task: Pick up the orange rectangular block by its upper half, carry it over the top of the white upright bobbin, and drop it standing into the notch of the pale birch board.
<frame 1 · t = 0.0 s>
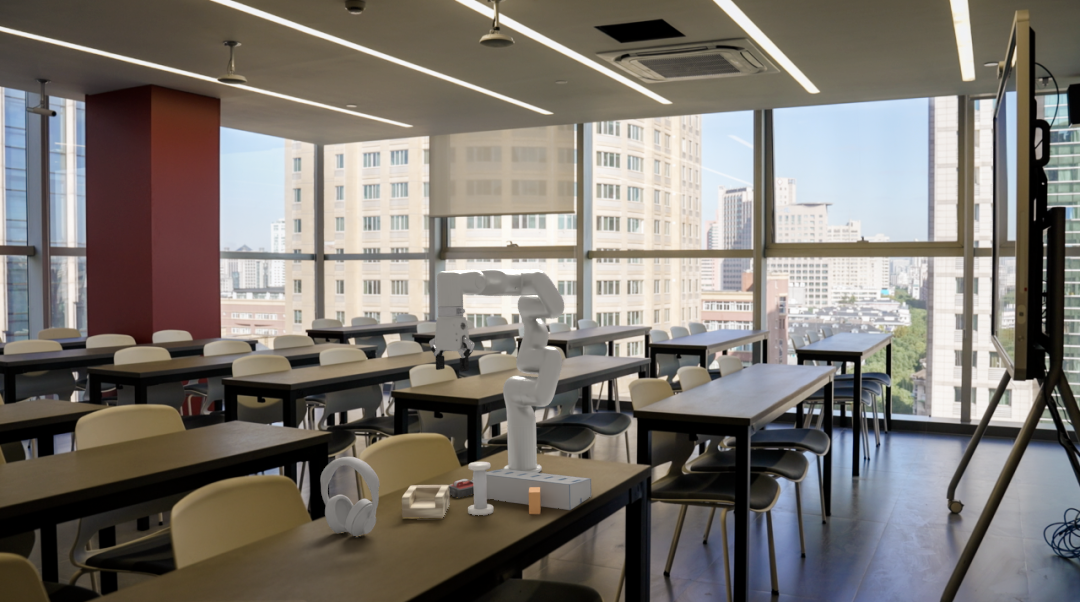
hand: (452, 370, 230), 37 cm above the table, tool pointing down, fingers open, 9 cm apart
board: (426, 512, 215), on the table
warehouse: (534, 499, 227), on the table
headphones: (351, 535, 197), on the table
orange rectangular block: (535, 511, 214), on the table
toolbox: (457, 495, 233), on the table
bobbin: (480, 511, 214), on the table
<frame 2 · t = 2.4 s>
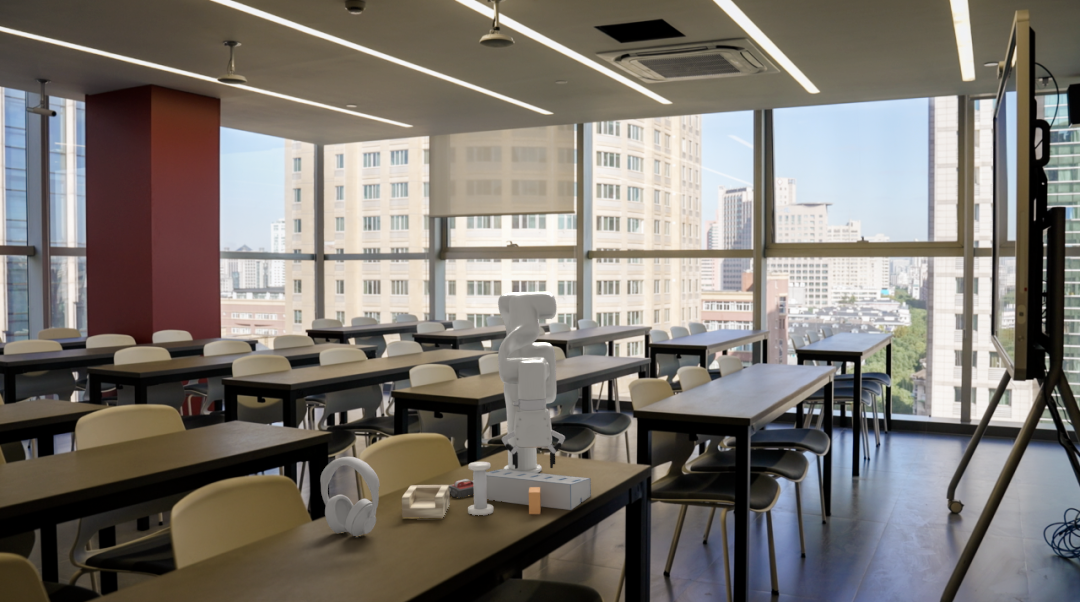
hand: (534, 467, 213), 12 cm above the table, tool pointing down, fingers open, 9 cm apart
nothing on the table moved.
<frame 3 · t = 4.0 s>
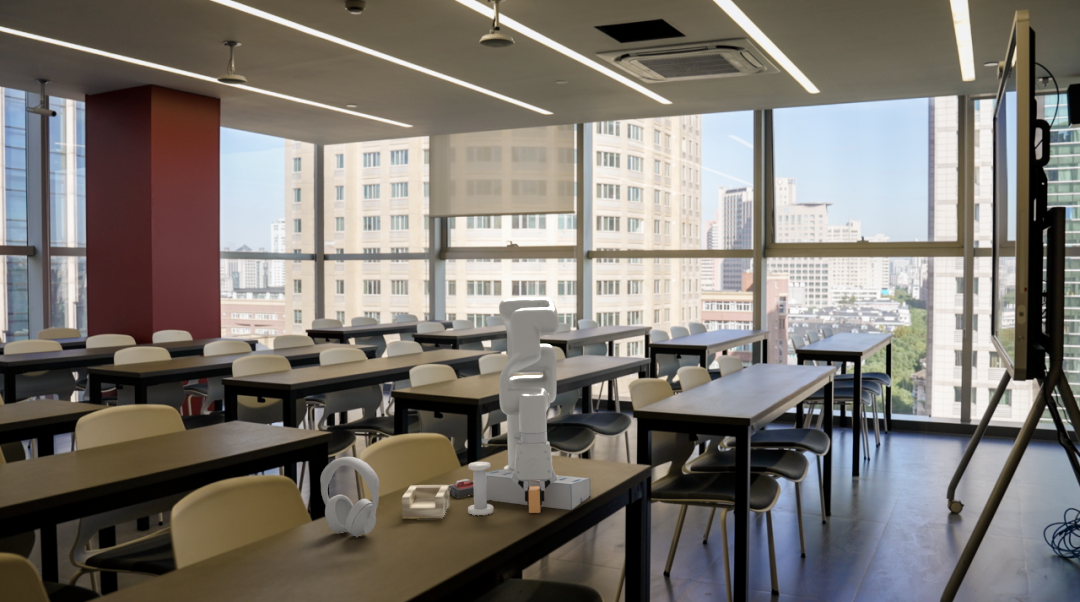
hand: (534, 503, 214), 2 cm above the table, tool pointing down, fingers closed on orange rectangular block, 2 cm apart
orange rectangular block: (534, 510, 214), on the table, touching gripper
everything else where it was.
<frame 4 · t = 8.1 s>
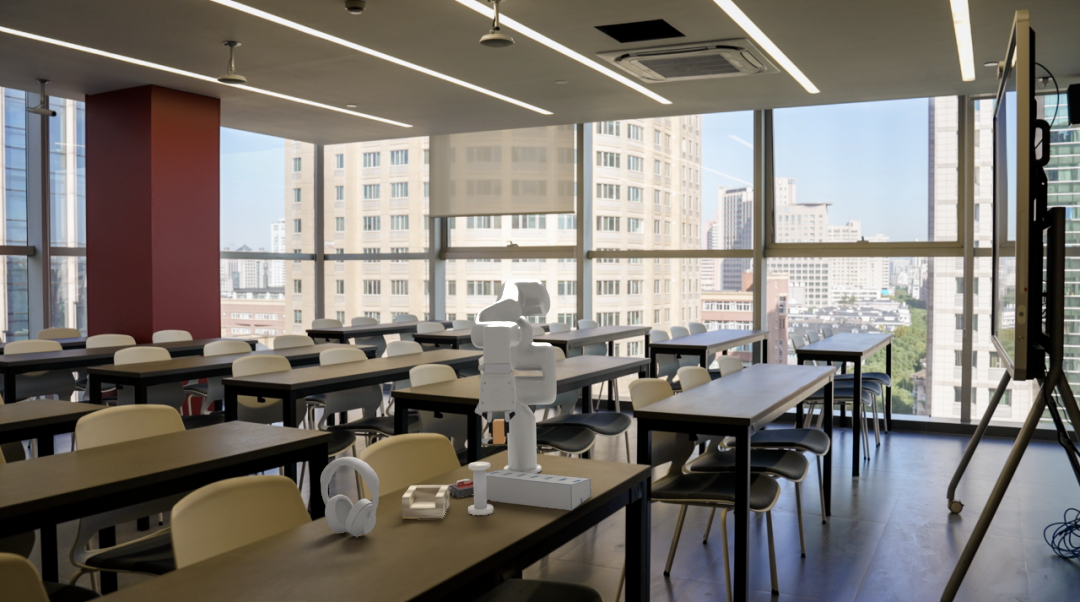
hand: (499, 435, 213), 21 cm above the table, tool pointing down, fingers closed on orange rectangular block, 2 cm apart
orange rectangular block: (499, 442, 213), point 19 cm above the table, touching gripper
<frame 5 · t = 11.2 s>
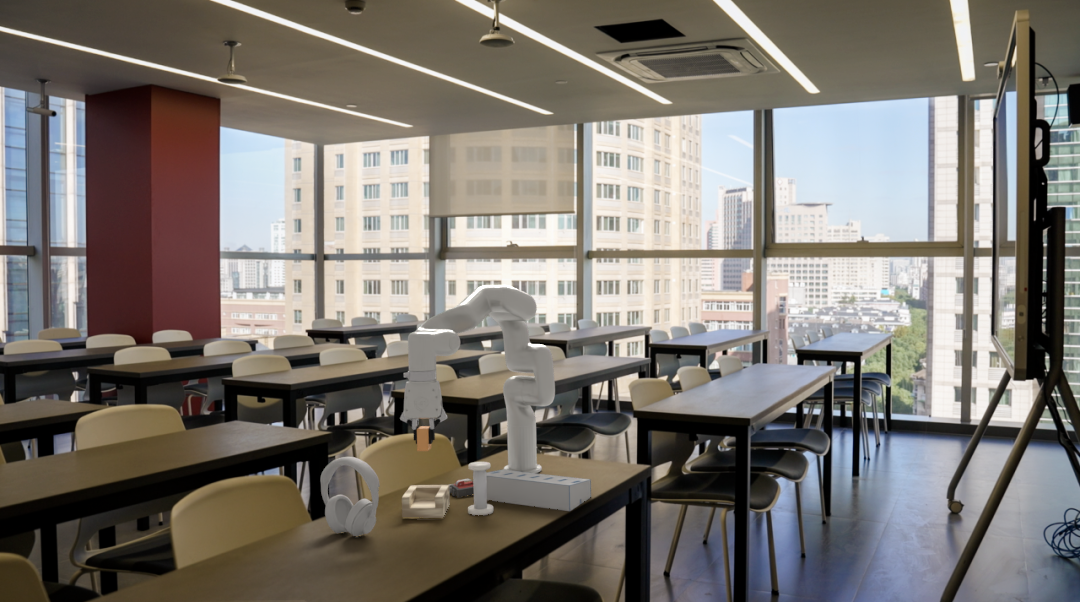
hand: (424, 442, 214), 20 cm above the table, tool pointing down, fingers closed on orange rectangular block, 2 cm apart
orange rectangular block: (424, 449, 214), point 18 cm above the table, touching gripper
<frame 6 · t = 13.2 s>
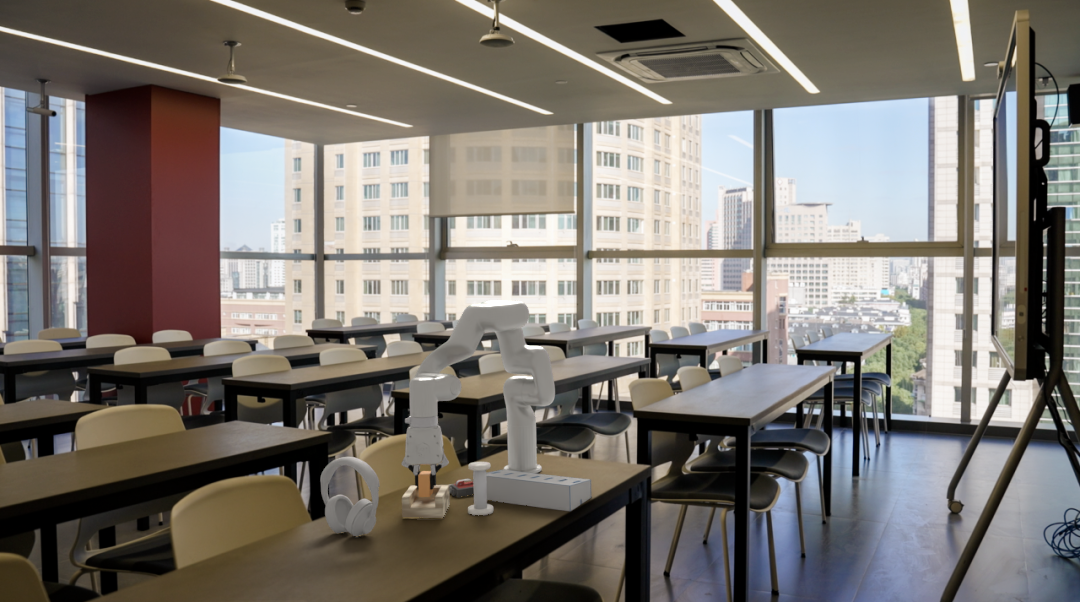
hand: (425, 487, 215), 7 cm above the table, tool pointing down, fingers closed on orange rectangular block, 2 cm apart
orange rectangular block: (425, 494, 214), point 5 cm above the table, touching gripper
when the fingers open (6 cm above the table, at t = 13.7 s): orange rectangular block drops 1 cm, resting on board.
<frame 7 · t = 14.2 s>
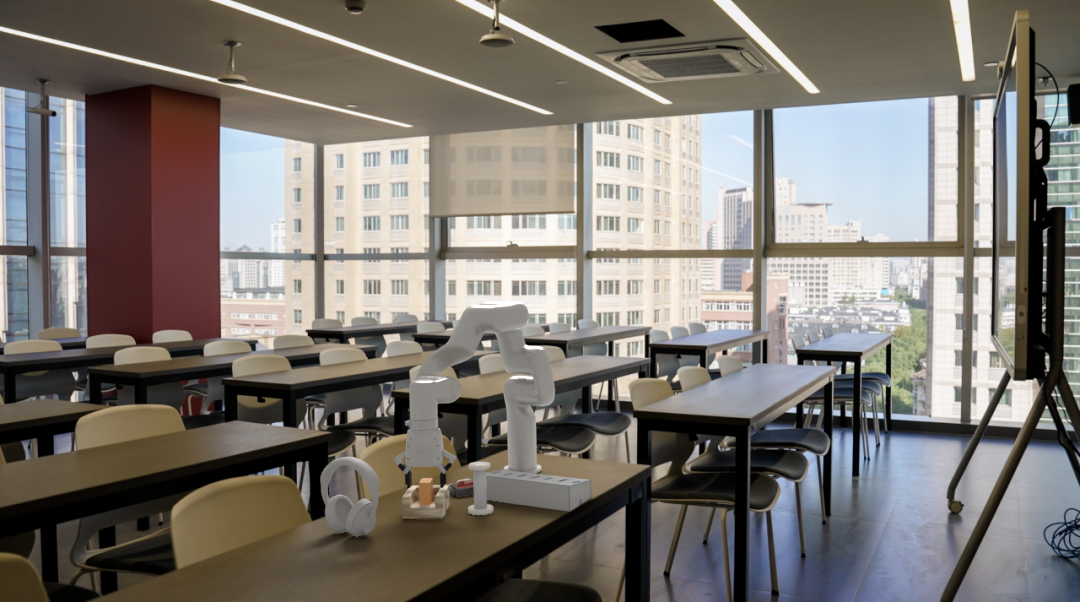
hand: (426, 486, 215), 7 cm above the table, tool pointing down, fingers open, 8 cm apart
orange rectangular block: (426, 502, 214), point 3 cm above the table, touching board
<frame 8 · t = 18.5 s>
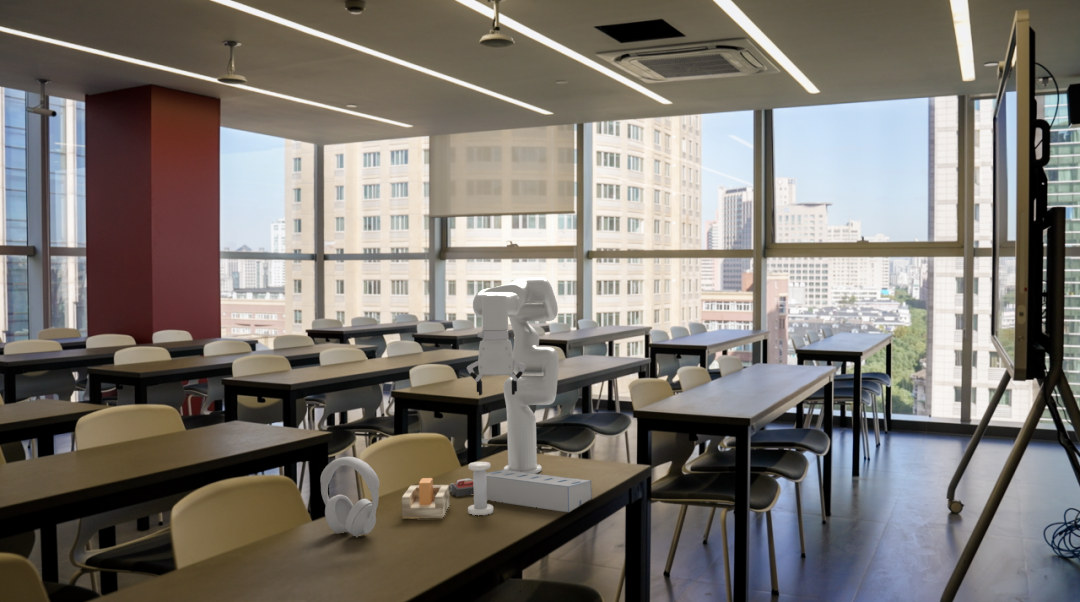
hand: (497, 394, 227), 30 cm above the table, tool pointing down, fingers open, 9 cm apart
at the end: orange rectangular block 0.2 cm off-centre on the board, point 3.0 cm above the board's base; orange rectangular block tilted 0°; the gripper is holding nothing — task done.
